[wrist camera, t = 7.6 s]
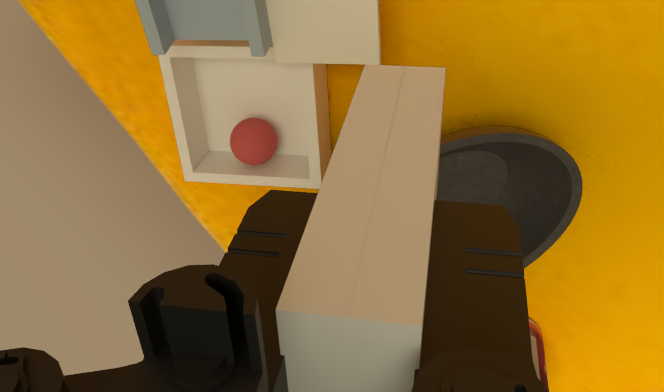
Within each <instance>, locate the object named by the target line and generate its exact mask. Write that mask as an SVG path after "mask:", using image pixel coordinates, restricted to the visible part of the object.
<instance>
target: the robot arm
mask: <svg viewBox="0 0 664 392" xmlns="http://www.w3.org/2000/svg"><path fill="white" fill-rule="evenodd" d="M445 72H446V68H441V67H416V66H392V65H367V64H365V66H364V69H363V71H362V74H361V77H360V80H359V82H358V85H357V88H356V91H355V93H354V96H353V99H352V102H351V104H350V107H349V110H348V113H347V115H346V118H345V121H344V124H343V126H342V129H341V132H340V134H339V137H338V140H337V143H336V145H335V148H334V151H333V154H332V156H331V159H330V162H329V165H328V167H327V170H326V173H325V176H324V178H323V181H322V184H321V187H320V189H319V192H318V193H306V192H293V191H280V190H270V191H269V192H268V193H266V194H265V195H264V196H263V197H261V198H260V199H259V200H258V201H256V202H255V203H254V204H253V205H251V206H250V207H249V208H248V210H247V212H246V214H245V216H244V218H243V220H242V222H241V224H240V226H239V227H238V229H237V234H235V235H234V237H233V239H232V241H231V243H230V245H229V247H228V253H225V255H224V257H223V259H222V261H221V263H220V265H219V266H217V265H188V266H185V267H181V268H178V269H175V270H171V271H168V272H164V273H163V274H161V275H159V276H157V277H156V278H154V279H152V280H150V281H149V282H147V283H145V284H143V285H142V287H141V288H140V289H139V290H138V291H137V292H136V293H135V294H134V295H133V296H132V297H131V298H130V299H129V301H128V303H129V306H130V310H131V313H132V316H133V320H134V323H135V327H136V330H137V334H138V337H139V340H140V344H141V347H142V351H143V354H144V359H143V361H141V362H139V363H137V364H132V365H128V366H124V367H120V368H114V369H107V370H100V371H94V372H87V373H81V374H73V375H66V376H64V375H63V372H62V370H61V367H60V365H59V362H58V361H57V360H56V359H54V358H53V357H51V356H50V355H48V354H47V353H46V352H45V351H41V350H35V349H30V348H24V347H23V348H16V349H10V350H2V351H0V392H547V391H546V390H545V389H544V387H543V385H542V383H541V382H540V380H539V378H538V376H537V374H536V370H535V367H534V363H533V357H532V347H531V337H530V327H529V317H528V307H527V297H526V287H525V279H524V267H523V257H522V247H521V237H520V228H519V226H518V225H517V224H516V222H515V221H514V220H513V218H512V217H511V216H510V214H509V213H508V212H507V210H506V209H505V208H504V206H503V205H492V204H479V203H466V202H453V201H440V200H436V194H437V181H438V168H439V154H440V140H441V127H442V113H443V99H444V86H445Z"/></svg>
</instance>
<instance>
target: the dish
mask: <svg viewBox="0 0 664 392" xmlns="http://www.w3.org/2000/svg"><path fill="white" fill-rule="evenodd" d="M158 57H159V62H160V67H161V71H162V76H163V81H164V86H165V90H166V95H167V100H168V104H169V109H170V114H171V118H172V123H173V128H174V133H175V137H176V142H177V147H178V151H179V156H180V161H181V165H182V170H183V175H184V179H185V181H192V182H210V183H227V184H244V185H262V186H279V187H296V188H314V189H320V187H321V184H322V181H323V178H324V176H325V173H326V170H327V167H328V165H329V162H330V159H331V156H332V151H331V134H330V118H329V102H328V85H327V69H326V64H314V63H276V60H275V54H274V48H273V42H272V43H271V45H270V47H269V49H268V51H267V53H266V55H265V57H252V56H251V51H250V46H249V41H239V40H175V41H174V42H173V44H172V45H171V47H170V48H169V50H168V51H167V53H166V54H165V55H158ZM247 118H259V119H263V120H265V121H266V122H268V123H269V124H270V125H271V126H272V127H273V128H274V130H275V132H276V135H277V140H278V143H277V149H276V151H275V153H274V155H273V156H272V158H271V159H269V160H268V161H267V162H265V163H263V164H260V165H248V164H245V163H243V162H241V161H240V160H238V159H237V158H236V157H235V155H234V154H233V152H232V150H231V147H230V136H231V133H232V130H233V129H234V127H235V126H236V125H237V124H238V123H239V122H241V121H242V120H244V119H247Z"/></svg>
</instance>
